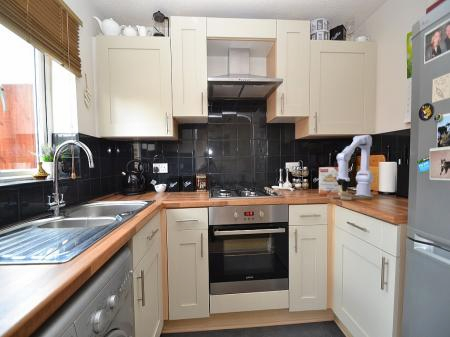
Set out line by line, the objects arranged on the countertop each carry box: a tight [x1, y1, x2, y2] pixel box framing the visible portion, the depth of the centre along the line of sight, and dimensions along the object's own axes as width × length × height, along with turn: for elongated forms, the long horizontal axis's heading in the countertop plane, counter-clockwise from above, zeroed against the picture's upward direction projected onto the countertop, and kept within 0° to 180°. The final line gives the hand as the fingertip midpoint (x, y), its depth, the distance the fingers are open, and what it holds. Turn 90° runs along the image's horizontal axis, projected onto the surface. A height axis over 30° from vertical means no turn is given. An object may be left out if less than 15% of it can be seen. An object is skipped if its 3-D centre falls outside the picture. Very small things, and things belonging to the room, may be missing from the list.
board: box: [326, 194, 373, 201], centre depth 150 cm, size 12×24×2 cm, turn 84°
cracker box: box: [318, 166, 339, 195], centre depth 169 cm, size 14×6×21 cm, turn 76°
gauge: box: [339, 185, 352, 201], centre depth 147 cm, size 9×6×8 cm, turn 174°
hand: (343, 190), depth 147 cm, fingers closed on gauge, 4 cm apart
